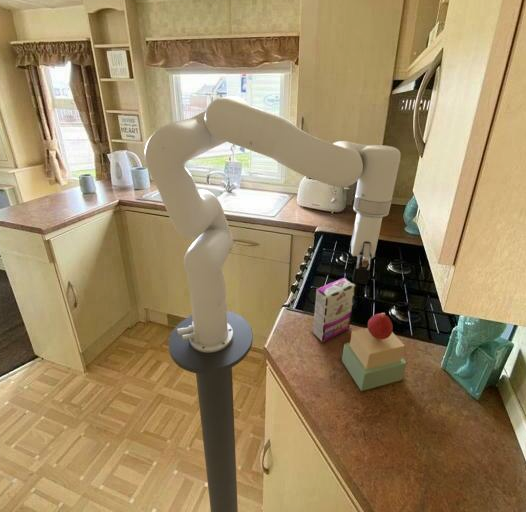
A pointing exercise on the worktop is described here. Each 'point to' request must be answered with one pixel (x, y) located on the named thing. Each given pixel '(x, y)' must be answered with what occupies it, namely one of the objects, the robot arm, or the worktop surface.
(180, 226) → the robot arm
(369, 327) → the onion
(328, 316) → the candy bar box
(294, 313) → the worktop surface
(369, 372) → the box stack
